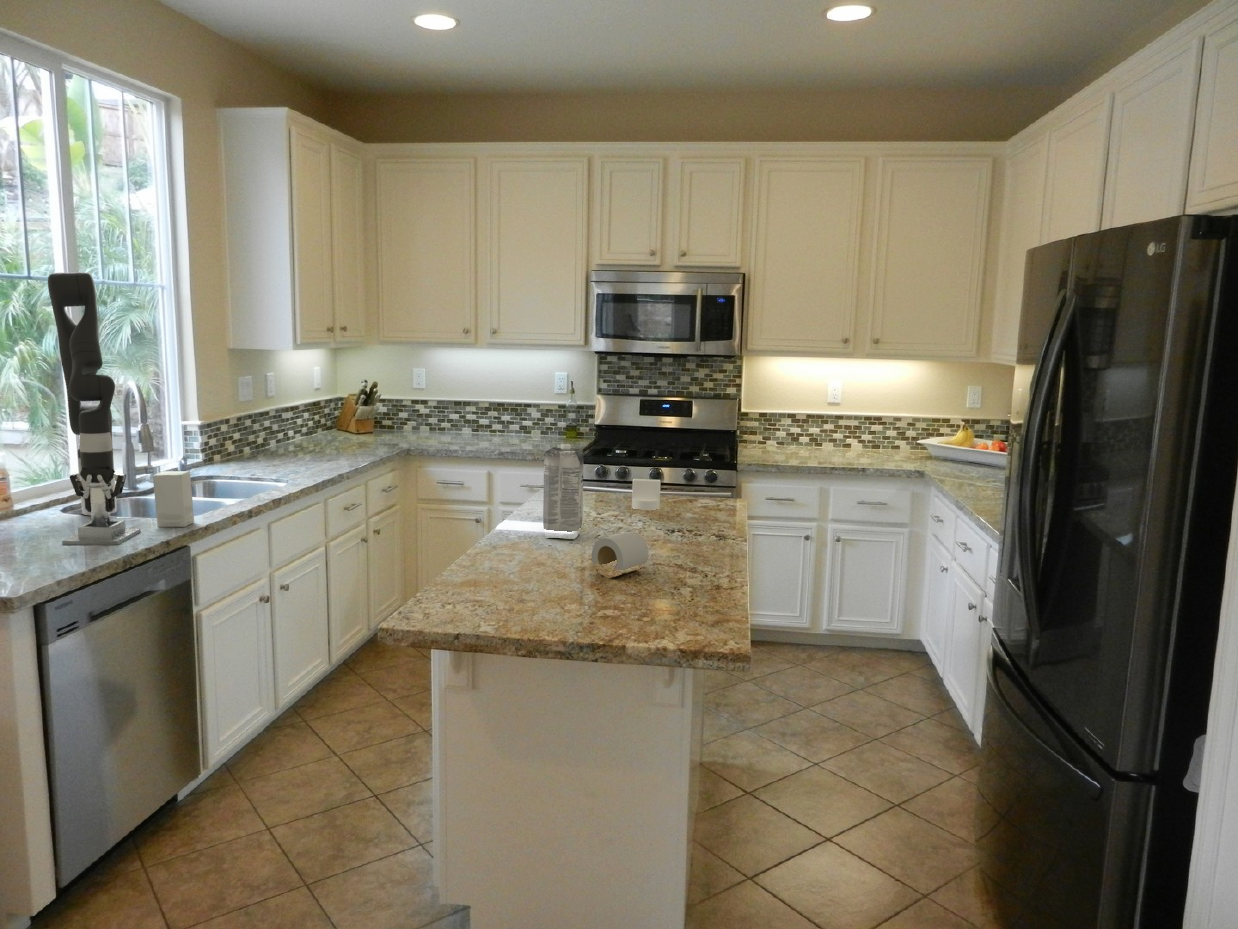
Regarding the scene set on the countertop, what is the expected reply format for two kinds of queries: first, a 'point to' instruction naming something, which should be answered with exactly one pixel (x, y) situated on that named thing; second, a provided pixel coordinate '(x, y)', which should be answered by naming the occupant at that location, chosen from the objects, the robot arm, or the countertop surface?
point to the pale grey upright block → (98, 505)
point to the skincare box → (173, 498)
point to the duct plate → (101, 534)
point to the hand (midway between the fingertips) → (100, 511)
